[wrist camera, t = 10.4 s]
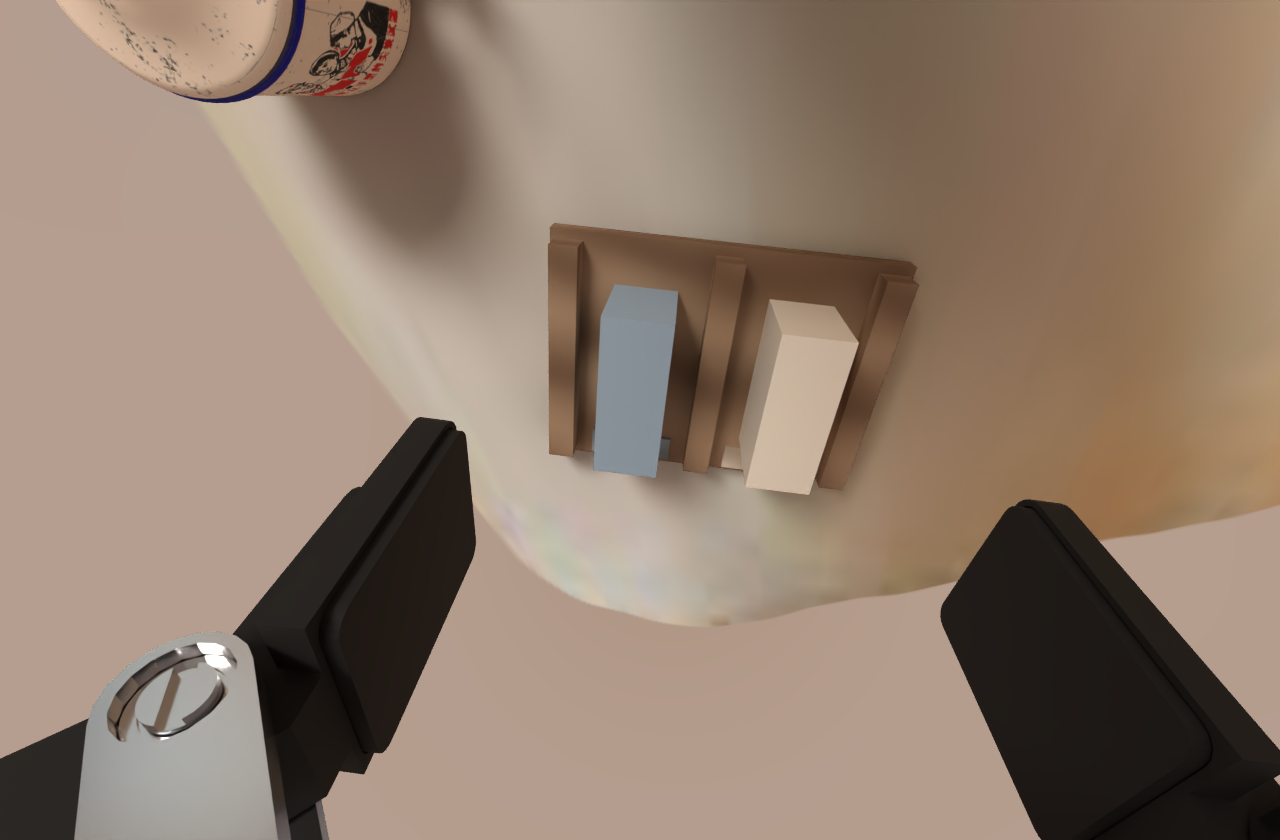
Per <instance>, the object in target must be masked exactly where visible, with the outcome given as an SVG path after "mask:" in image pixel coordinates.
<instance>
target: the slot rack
mask: <svg viewBox="0 0 1280 840" xmlns="http://www.w3.org/2000/svg"><path fill="white" fill-rule="evenodd" d="M916 268H917V267H916V266H914V265H913V264H912V263H911V262H904V261H895V260H886V259H877V258H868V257H859V256H850V255H840V254H831V253H822V252H813V251H804V250H795V249H786V248H776V247H767V246H758V245H749V244H740V243H731V242H722V241H712V240H703V239H694V238H685V237H676V236H667V235H658V234H648V233H639V232H630V231H621V230H612V229H603V228H593V227H584V226H575V225H566V224H557V223H554V224H553V225H552V226H551V227H550V243H549V244H548V309H549V454H553V455H561V456H569V457H573V455H574V452H575V450H582V451H590V452H594V445H595V424H596V404H597V383H598V363H599V342H600V322H601V315H602V312H603V310H604V308H605V305H606V303H607V301H608V299H609V296H610V294H611V292H612V289H613V287H614V285H615V284H616V285H625V286H634V287H643V288H652V289H661V290H670V291H678V301H677V313H676V324H675V332H674V340H673V348H672V355H671V363H670V371H669V379H668V387H667V394H666V402H665V410H664V418H663V426H662V434H661V441H660V449H659V457H658V460H663V461H671V462H679V463H683V471H691V472H699V473H707V470H708V466H712V467H720V468H728V469H736V470H743V466H742V458H741V450H740V442H739V434H740V430H741V425H742V421H743V416H744V412H745V407H746V403H747V398H748V394H749V389H750V385H751V380H752V376H753V371H754V367H755V362H756V358H757V353H758V349H759V344H760V340H761V335H762V331H763V326H764V322H765V317H766V313H767V308H768V304H769V299H773V300H781V301H790V302H799V303H808V304H817V305H826V306H835V308H836V309H837V311H838V312H839V314H840V315H841V317H842V318H843V320H844V321H845V323H846V324H847V326H848V327H849V329H850V330H851V332H852V333H853V335H854V336H855V338H856V339H857V341H858V342H859V345H858V348H857V351H856V354H855V357H854V360H853V363H852V366H851V369H850V372H849V375H848V378H847V381H846V384H845V387H844V390H843V393H842V396H841V399H840V402H839V405H838V408H837V411H836V414H835V418H834V421H833V424H832V427H831V430H830V433H829V436H828V439H827V442H826V445H825V448H824V451H823V454H822V457H821V460H820V463H819V466H818V469H817V472H816V475H815V478H814V479H816V480H817V483H818V486H819V487H821V488H829V489H837V490H843V489H844V486H845V483H846V481H847V478H848V475H849V473H850V470H851V467H852V465H853V462H854V459H855V456H856V454H857V451H858V448H859V446H860V443H861V440H862V437H863V435H864V432H865V429H866V427H867V424H868V421H869V419H870V416H871V413H872V410H873V408H874V405H875V402H876V400H877V397H878V394H879V392H880V389H881V386H882V383H883V381H884V378H885V375H886V373H887V370H888V367H889V365H890V362H891V359H892V356H893V354H894V351H895V348H896V346H897V343H898V340H899V338H900V335H901V332H902V329H903V327H904V324H905V321H906V319H907V316H908V313H909V311H910V308H911V305H912V302H913V300H914V297H915V294H916V292H917V289H918V286H919V285H918V284H917V283H916V282H915V281H913V280H912V279H913V276H914V274H915V271H916Z"/></svg>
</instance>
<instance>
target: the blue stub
mask: <svg viewBox="0 0 1280 840" xmlns="http://www.w3.org/2000/svg"><path fill="white" fill-rule="evenodd" d="M677 301H678V291H670V290H661V289H652V288H643V287H634V286H625V285H616V284H615V285H614V287H613V289H612V292H611V294H610V296H609V299H608V301H607V303H606V305H605V308H604V310H603V312H602V315H601V322H600V342H599V363H598V383H597V404H596V424H595V445H594V466H593V470H596V471H604V472H612V473H620V474H628V475H636V476H644V477H652V478H656V473H657V465H658V457H659V449H660V441H661V434H662V426H663V418H664V410H665V402H666V394H667V387H668V379H669V371H670V363H671V355H672V348H673V340H674V332H675V324H676V313H677Z"/></svg>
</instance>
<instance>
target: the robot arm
mask: <svg viewBox="0 0 1280 840" xmlns="http://www.w3.org/2000/svg"><path fill="white" fill-rule="evenodd" d="M475 546H476V536H475V525H474V515H473V504H472V494H471V483H470V473H469V462H468V452H467V441H466V435H465V433H464V432H463V431H457V430H456V426H455V424H454V422H452V421H446V420H438V419H431V418H424V417H419V418H416V419H415V420H414V421H413V423H412V424H411V425H410V426H409V428H408V429H407V430H406V431H405V433H404V434H403V435H402V436H401V438H400V439H399V440H398V442H397V443H396V444H395V445H394V447H393V448H392V449H391V450H390V452H389V453H388V454H387V455H386V457H385V458H384V459H383V460H382V462H381V463H380V464H379V466H378V467H377V468H376V469H375V471H374V472H373V473H372V475H371V476H370V477H369V478H368V479H367V481H366V482H365V483H364V485H363V486H362V487H357V488H354V489H352V490H351V491H350V492H349V493H348V494H347V495H346V496H345V497H344V498H343V499H342V500H341V502H340V503H339V504H338V505H337V507H336V508H335V509H334V510H333V511H332V513H331V514H330V515H329V516H328V518H327V519H326V520H325V521H324V523H323V524H322V525H321V526H320V528H319V529H318V530H317V531H316V532H315V534H314V535H313V536H312V537H311V539H310V540H309V541H308V542H307V543H306V545H305V546H304V547H303V548H302V550H301V551H300V552H299V553H298V555H297V556H296V557H295V558H294V560H293V561H292V562H291V563H290V564H289V566H288V567H287V568H286V569H285V571H284V572H283V573H282V574H281V575H280V577H279V578H278V579H277V580H276V582H275V583H274V584H273V585H272V587H271V588H270V589H269V590H268V592H267V593H266V594H265V595H264V597H263V598H262V599H261V600H260V601H259V603H258V604H257V605H256V606H255V607H254V609H253V610H252V612H250V614H249V615H248V616H247V617H246V619H245V620H244V621H243V622H242V624H241V625H240V626H239V627H238V628H237V630H236V631H235V632H234V633H233V635H231V634H227V633H223V632H203V633H196V634H192V635H189V636H184V637H181V638H177V639H174V640H172V641H170V642H168V643H165V644H163V645H161V646H159V647H157V648H155V649H153V650H150V651H149V652H147V653H146V654H144V655H143V656H142V657H140V658H139V659H137V660H136V661H134V662H133V663H131V664H130V665H128V666H127V667H126V668H125V669H124V670H123V671H122V672H120V673H119V674H118V675H117V676H116V677H115V678H114V679H113V680H112V681H111V682H110V683H109V684H108V685H107V686H106V688H105V689H104V690H103V692H102V694H101V695H100V696H99V698H98V699H97V701H96V702H95V704H94V705H93V707H92V711H91V713H90V717H89V718H88V719H86V720H84V721H82V722H80V723H78V724H75V725H73V726H71V727H69V728H67V729H64V730H62V731H60V732H58V733H56V734H53V735H51V736H49V737H47V738H45V739H43V740H40V741H38V742H36V743H34V744H31V745H29V746H27V747H25V748H23V749H21V750H19V751H16V752H14V753H12V754H10V755H7V756H5V757H3V758H1V759H0V840H329V837H328V831H327V826H326V821H325V816H324V811H323V805H322V800H321V799H323V798H324V797H326V796H327V795H328V792H329V790H330V789H331V787H332V785H333V783H334V781H335V779H336V777H337V775H338V773H339V771H343V772H350V773H358V774H364V773H365V771H366V769H367V767H368V765H369V763H370V761H371V758H372V756H373V754H374V753H383V752H384V751H385V750H386V749H387V747H388V746H389V744H390V742H391V740H392V738H393V736H394V733H395V732H396V729H397V727H398V725H399V722H400V720H401V718H402V716H403V714H404V711H405V709H406V707H407V705H408V702H409V700H410V698H411V696H412V694H413V691H414V689H415V687H416V684H417V682H418V680H419V678H420V676H421V673H422V671H423V669H424V667H425V664H426V662H427V660H428V658H429V655H430V653H431V651H432V649H433V646H434V644H435V642H436V640H437V638H438V635H439V633H440V631H441V629H442V626H443V624H444V622H445V620H446V617H447V615H448V613H449V611H450V608H451V606H452V604H453V602H454V599H455V597H456V595H457V593H458V591H459V588H460V586H461V584H462V581H463V579H464V577H465V575H466V573H467V570H468V568H469V566H470V563H471V561H472V559H473V556H474V552H475ZM941 622H942V625H943V628H944V630H945V632H946V634H947V636H948V639H949V641H950V643H951V645H952V648H953V650H954V652H955V654H956V656H957V659H958V661H959V663H960V665H961V668H962V670H963V672H964V674H965V676H966V678H967V681H968V683H969V685H970V687H971V689H972V692H973V694H974V696H975V698H976V701H977V703H978V705H979V707H980V709H981V712H982V714H983V716H984V718H985V721H986V723H987V725H988V727H989V730H990V732H991V734H992V736H993V738H994V740H995V743H996V745H997V747H998V749H999V752H1000V754H1001V756H1002V758H1003V760H1004V763H1005V765H1006V767H1007V769H1008V772H1009V774H1010V776H1011V778H1012V780H1013V783H1014V785H1015V787H1016V789H1017V791H1018V793H1019V796H1020V798H1021V800H1022V803H1023V805H1024V807H1025V809H1026V811H1027V814H1028V816H1029V818H1030V820H1031V822H1032V825H1033V827H1034V829H1035V831H1036V832H1037V834H1038V836H1039V837H1040V839H1041V840H1280V785H1279V784H1278V783H1277V782H1276V781H1275V779H1274V778H1275V777H1276V776H1278V775H1280V750H1279V749H1278V747H1277V746H1276V745H1275V744H1274V743H1273V742H1272V741H1271V739H1270V738H1269V737H1268V736H1267V735H1266V734H1265V733H1264V731H1263V730H1262V729H1261V728H1260V727H1259V726H1258V724H1257V723H1256V722H1255V721H1254V720H1253V719H1252V718H1251V716H1250V715H1249V714H1248V713H1247V712H1246V711H1245V709H1244V708H1243V707H1242V706H1241V705H1240V704H1239V702H1238V701H1237V700H1236V699H1235V698H1234V697H1233V695H1232V694H1231V693H1230V692H1229V691H1228V690H1227V689H1226V687H1225V686H1224V685H1223V684H1222V683H1221V682H1220V680H1219V679H1218V678H1217V677H1216V676H1215V675H1214V674H1213V672H1212V671H1211V670H1210V669H1209V668H1208V667H1207V665H1206V664H1205V663H1204V662H1203V661H1202V660H1201V658H1199V656H1198V655H1197V654H1196V653H1195V652H1194V651H1193V649H1192V648H1191V647H1190V646H1189V645H1188V643H1187V642H1186V641H1185V640H1184V639H1183V638H1182V637H1181V635H1180V634H1179V633H1178V632H1177V631H1176V630H1175V628H1174V627H1173V626H1172V625H1171V624H1170V623H1169V622H1168V620H1167V619H1166V618H1165V617H1164V616H1163V615H1162V613H1161V612H1160V611H1159V610H1158V609H1157V608H1156V606H1155V605H1154V604H1153V603H1152V602H1151V601H1150V600H1149V598H1148V597H1147V596H1146V595H1145V594H1144V593H1143V592H1142V590H1141V589H1140V588H1139V587H1138V586H1137V584H1136V583H1135V582H1134V581H1133V580H1132V579H1131V578H1130V576H1129V575H1128V574H1127V573H1126V572H1125V571H1124V569H1123V568H1122V567H1121V566H1120V565H1119V564H1118V563H1117V561H1116V560H1115V559H1114V558H1113V557H1112V556H1111V555H1110V553H1109V552H1108V551H1107V550H1106V549H1105V548H1104V546H1103V545H1102V544H1101V543H1100V542H1099V541H1098V539H1097V538H1096V537H1095V536H1094V535H1093V534H1092V532H1091V531H1090V530H1089V529H1088V528H1087V527H1086V526H1085V524H1084V523H1083V522H1082V521H1081V520H1080V519H1079V517H1078V516H1077V515H1076V514H1075V513H1074V512H1073V510H1071V509H1070V508H1069V507H1068V506H1066V505H1063V504H1059V503H1052V502H1045V501H1037V500H1030V499H1029V500H1022V501H1020V502H1018V504H1017V505H1016V506H1012V507H1010V508H1008V509H1007V510H1006V511H1005V513H1004V514H1003V516H1002V517H1001V518H1000V520H999V521H998V523H997V524H996V526H995V527H994V529H993V530H992V532H991V533H990V535H989V536H988V538H987V539H986V541H985V542H984V544H983V545H982V547H981V548H980V549H979V551H978V552H977V554H976V555H975V557H974V558H973V560H972V561H971V563H970V564H969V566H968V567H967V569H966V570H965V572H964V573H963V575H962V576H961V578H960V579H959V580H958V582H957V583H956V585H955V586H954V588H953V589H952V591H951V592H950V594H949V596H948V597H947V598H946V600H945V601H944V603H943V605H942V608H941Z"/></svg>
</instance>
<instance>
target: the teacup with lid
mask: <svg viewBox="0 0 1280 840" xmlns="http://www.w3.org/2000/svg"><path fill="white" fill-rule="evenodd" d="M56 2H57V3H58V4H59V6H60V7H61V8H62V9H63V11H64V12H65V13H66V14H67V15H68V16H69V18H70V19H71V20H72V21H73V22H74V23H75V24H76V25H77V26H78V28H79V29H80V30H81V31H82V32H83V33H84V34H85V35H86V36H87V37H89V39H90V40H91V41H93V42H94V43H95V44H96V45H97V46H98V47H99V48H100V49H102V50H103V51H104V52H105V53H106V54H108V55H109V56H110V57H111V58H113V59H114V60H115V61H117V62H118V63H120V64H121V65H122V66H124V67H125V68H126V69H128V70H129V71H131V72H133V73H135V74H136V75H137V76H139V77H141V78H142V79H144V80H146V81H148V82H150V83H152V84H154V85H156V86H158V87H161V88H163V89H165V90H167V91H170V92H172V93H174V94H177V95H180V96H183V97H186V98H189V99H193V100H198V101H202V102H211V103H230V102H237V101H241V100H245V99H248V98H251V97H253V96H255V95H270V96H350V95H356V94H360V93H364V92H366V91H368V90H371V89H373V88H374V87H376V86H378V85H379V84H380V83H382V82H383V81H384V80H385V79H386V78H387V77H388V76H389V75H390V74H391V72H392V71H393V70H394V68H395V67H396V65H397V64H398V62H399V60H400V58H401V56H402V53H403V51H404V48H405V45H406V42H407V38H408V33H409V27H410V14H411V5H410V0H56Z"/></svg>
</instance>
